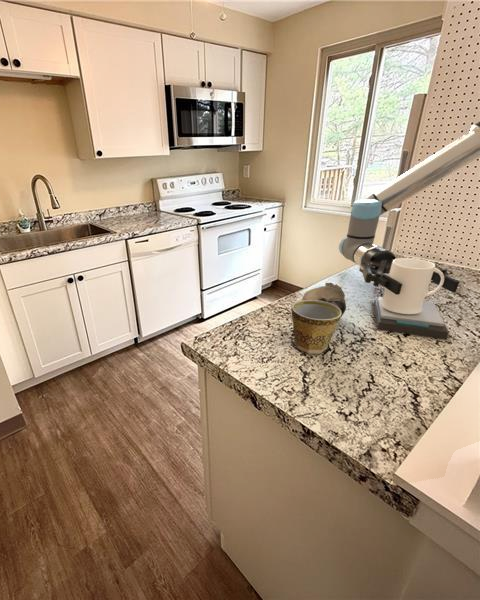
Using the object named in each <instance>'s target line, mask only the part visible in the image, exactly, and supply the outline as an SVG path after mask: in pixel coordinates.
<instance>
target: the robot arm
mask: <svg viewBox="0 0 480 600" xmlns="http://www.w3.org/2000/svg"><path fill="white" fill-rule="evenodd" d="M479 158H480V121H478V122H476V123H475V124H473V125H472V126H471V128H470V131H469V132H467V133H466V134H464V135H463V136H461V137H460V138H458V139H457V140H455V141H453V142H452V143H450V144H448V145H446V146H445V147H444V148H442V149H441V150H439V151H437V152H436V153H435V154H433V155H431V156H429V157H428V158H426V159H425V160H424V161H422V162H420V163H419V164H417V165H415V166H414V167H413V168H411V169H409V170H408V171H406V172H405V173H403V174H401V175H400V176H398V177H397V178H394V180H392V181H390V182H389V183H387V184H385V185H384V186H382V187H381V188H379V189H378V190H376V191H374V192H373V193H371V194H370V195H368V196H366V197H365V198H362V199H358V200H355V201H354V202H353V203H352V208H351V210H350V217H349V221H348V222H349V223H348V229H347V234H346V236H345V237H344V238H343V239H342V240H341V241H340V242H339V245H338V251H339V253H340V254H341V256H343V257H344V258H345V259H347V260H349V261H351V262H353V263H355V265H358V266H359V272H360V273H362V276H363V279H364V282H365V283H366V284H371V282H373V284H372V286H374V287H379V286H381V287H384V288H387V289H388V290H390V291H391V292H393V293H394V294H396V295H397V294H400V291H401V287H402V284H401V283H400V282H398V281H396V280H395V279H393V278H391V277H389V273H390V269H391V265H392V262H393V260H395V259H397V257H396V255H395V254H394V252H392V251H390V250H388V249H386V248H384V247H381V246H379V245H377V244H375V243H374V241H375V238H376V233H377V228H378V224H379V221H380V217H381V215H383V214H385V213H387V212H388V211H390V210H392V209H393V208H395V207H397V206H399V205H400V204H402V203H404V202H406V201H407V200H409V199H410V198H413V197H414V196H415V195H417V194H419V193H421V192H423V191H424V190H426V189H428V188H430V187H431V186H433V185H435V184H436V183H439V182H440V181H442V180H443V179H445V178H447V177H449V176H451V175H452V174H453V173H455V172H457V171H459V170H461V169H463V168H464V167H465V166H467V165H470V164H471V163H473V162H474V161H476V160H478V159H479ZM435 268H437V269H439V270H440V271H441V272H442V273H443V275H444V283H443V285H442V287H441V288H443V289H445V290H446V291H449V292H451V293H456V292H457V290H458V287H459V285H460V281H459V280H457V279H455V278H453V277H451V276H449V275H447V274H448V271H449V270H448V269H445V268H442V267H437V266H435ZM440 282H441V277H440V275H439V274H438V273H436V272H433V275H432V278H431V283H432V284H433V283H434V285H437V286H439V284H440Z"/></svg>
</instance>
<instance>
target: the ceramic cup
mask: <svg viewBox="0 0 480 600" xmlns="http://www.w3.org/2000/svg"><path fill="white" fill-rule="evenodd" d="M301 300H302V299H301ZM301 300H298V301H296V302H294V303H293V304H292V305H291V320H292V321H291V322H292V328H293V329H292V330H293V337H294V338H293V339H294V344H295V347H296V349H298V350H300V351H302V352H304V353H307V354H314V355H315V354H316V355H319V354H323V352H324V351H326V350H327V348H328V347H329V344H330V341H331V339H332V337H333V335H334V333H335V330H336V329H337V327H338V325H339V322H340V320H341V317H342V316H341V314H342V312H341V310H340V309H339V308H338V307H337V306H335V305H333V304H331V303H328V302H324V301H319V300H309V299H304V300H302V301H301Z"/></svg>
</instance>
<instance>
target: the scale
mask: <svg viewBox="0 0 480 600" xmlns="http://www.w3.org/2000/svg"><path fill="white" fill-rule="evenodd" d="M382 299H383V296H377V297H375V298H374V301H373V309H374V310H373V311H374V315H375V323H376V328H377V330H382V331H388V332H395V333H399V334H406V335H407V334H408V335H412V336H413V335H414V336H420V337H427V338H434V339H441V340H447V339H448V336H449V334H450V331H449V330H448V327H447V326H446V324H445V321H444V320H443V318H442V316H441V314H440V311H439V310H438V307H437V306H436V304H435V302H433V301H424V302H423V306H422V311H421V312H420V313H418V314H400V313H396V312H392V311H389V310H387V309H385V308H383V307H382V306H381V304H380V302H381V301H382Z"/></svg>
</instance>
